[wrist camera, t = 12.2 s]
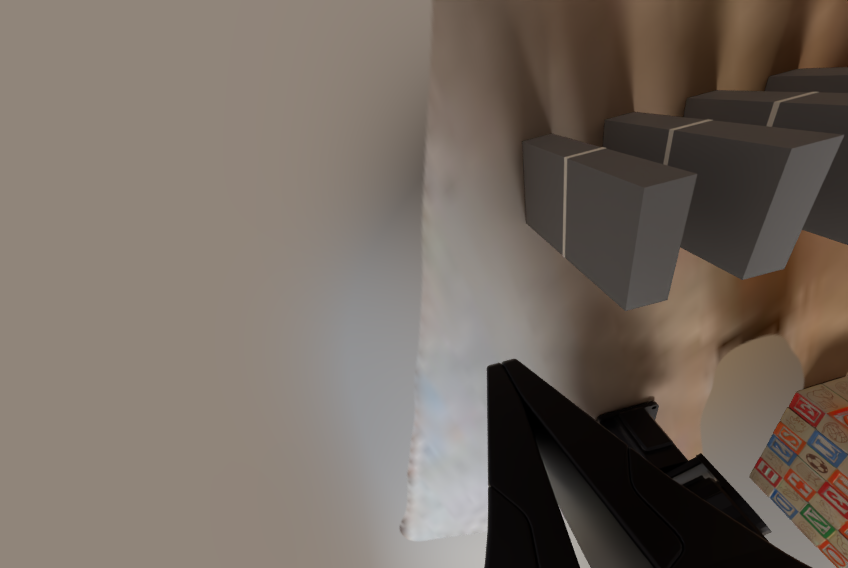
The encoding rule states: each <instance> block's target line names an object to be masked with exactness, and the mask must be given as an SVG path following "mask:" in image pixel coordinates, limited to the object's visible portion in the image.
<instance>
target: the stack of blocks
mask: <svg viewBox="0 0 848 568" xmlns="http://www.w3.org/2000/svg"><path fill="white" fill-rule="evenodd" d="M749 477H750V478H751V479H752V480H753V482H754V483H755V484H756V485H758V486H759V488H760V489H761V490H762V491H763V492H764V493H765V494H766V495H767V496H768V497H769V498H770V499H771V500H772V501H773V502H774V503H775V504H776V505H777V506H778V507H779V508H780V509H781V510H782V511H783V512H784V513H785V514H786V515H787V517H788V518H789V519H790V520H791V521H792V522H793V523H794V524H795V525H796V526H797V527H798V529H799V530H801V532H802V533H803V534H804V535H805V536H806V537H807V538H808V539H809V540H810V541H811V542H812V543H813V544H814V545H815V546H816V547H818V548H819V549H820V551H821V552H822V553H823V554H824V555H825V556H826V557H827V558H828V559H829V560H830V561H831V562H832V563H833V564H834V565H835V566H836V567H837V568H848V377H847V376H846V377H842V378H839V379H836V380H833V381H829V382H826V383H823V384H819V385H816V386H813V387H810V388H806V389H803V390H800V391H797V392H796V393H795V395H794V397H793V399H792V401H791V403H790V405H789V407H787V409H786V411H785V412H784V414H783V416H782V418H781V421H780V422H779V423H778V425H777V427H776V429H775V430H774V432H773V435H772V437H771V438H770V440H769V442H768V444H767V446H766V448H765V449H764V451H763V453H762V455H761V457H760V458H759V459H758V461H757V463H756V464H755V466H754V468H753V470H752V472H751V473H750V475H749Z"/></svg>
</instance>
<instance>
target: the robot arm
mask: <svg viewBox="0 0 848 568" xmlns="http://www.w3.org/2000/svg"><path fill="white" fill-rule="evenodd" d="M658 407H659V405H658V404H657V403H656V402H649V403H646V404H642V405H638V406H634V407H631V408H627V409H623V410H620V411H616V412H612V413H608V414H605V415H601V416H600V417H598V419H597V421H596V420H594V419H593V418H592V417H591V416H589V415H588V414H587V413H585V412H584V411H583V410H581V409H580V408H579V407H578V406H576V405H575V404H574V403H572V402H571V401H570V400H569V399H567V398H566V397H565V396H563V395H562V394H561V393H559V392H558V391H557V390H556V389H554V388H553V387H552V386H550V385H549V384H548V383H547V382H545V381H544V380H543V379H541V378H540V377H539V376H537V375H536V374H535V373H534V372H532V371H531V370H530V369H528V368H527V367H526V366H525V365H523V364H522V363H521V362H519V361H518V360H516V359H511V360H507V361H504V362H502V364H501V363H496V364H493V365H489V366H488V367H487V421H488V486H489V488H488V533H487V546H486V558H485V567H484V568H580V566H579V564H578V561H577V558H576V555H575V552H574V549H573V546H572V543H571V540H570V538H569V535H568V532H567V529H566V526H565V523H564V520H563V517H562V515H561V512H560V509H561V511H562V513H563V515H564V517H565V519H566V521H567V523H568V524H569V526H570V528H571V530H572V532H573V534H574V536H575V538H576V540H577V542H578V544H579V546H580V548H581V550H582V552H583V554H584V555H585V557H586V559H587V561H588V563H589V565H590V567H591V568H812V567H810V566H808V565H806V564H804V563H802V562H800V561H799V560H797V559H795V558H793V557H792V556H790V555H788V554H786V553H785V552H783V551H781V550H780V549H778V548H777V547H775V546H774V545H772V544H771V543H769V541H768V540H767V539H766V538H765V537H764V535H766V534H768V533H771V530H770V529H769V528H768V527H767V526H766V524H765V523H764V522H763V521H762V519H761V518H760V517H759V516H758V515H757V514H756V513H755V511H754V510H753V509H752V508H751V507H750V506H749V504H748V503H747V502H746V501H745V500H744V499H743V498H742V497H741V496H740V495H739V493H738V492H737V491H736V490H735V489H734V488H733V487H732V486H731V485H730V484H729V483H728V482H727V480H726V479H725V478H724V477H723V476H722V475H721V474H720V473H719V472H718V471H717V470H716V469H715V468H714V466H713V465H712V464H711V463H710V462H709V461H708V460H707V459H706V458H705V457H704V456H703V455H702V454H701V453H700V454H698V455H696V457H695V458H693V459H691V460H689V461H688V460H687V459H686V457H685V456H684V455H683V454H682V453H681V452H680V450H679V449H678V448H677V447H676V446H675V444H674V443H673V441H672V440H671V439H670V438H669V437H668V435H667V434H666V433H665V432H664V431H663V430H662V428H661V427H660V426H659V425H658V424H657V422H656V421H655V418H656V414H657V411H658ZM558 505H559V506H558ZM559 507H560V509H559Z"/></svg>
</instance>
